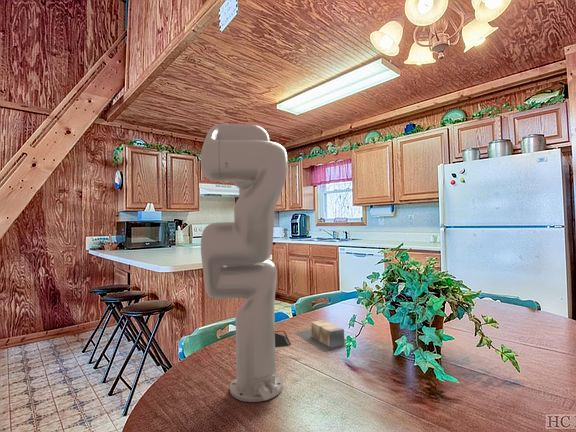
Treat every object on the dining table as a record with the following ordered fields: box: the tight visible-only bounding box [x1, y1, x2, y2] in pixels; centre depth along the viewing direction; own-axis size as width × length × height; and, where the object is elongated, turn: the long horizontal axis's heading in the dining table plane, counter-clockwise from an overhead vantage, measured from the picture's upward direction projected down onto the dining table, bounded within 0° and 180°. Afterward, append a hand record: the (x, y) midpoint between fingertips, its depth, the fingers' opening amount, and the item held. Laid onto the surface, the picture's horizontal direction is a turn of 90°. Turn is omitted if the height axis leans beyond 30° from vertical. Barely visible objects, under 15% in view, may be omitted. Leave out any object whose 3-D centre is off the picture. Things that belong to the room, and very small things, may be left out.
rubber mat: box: [294, 329, 347, 353], centre depth 108 cm, size 20×12×1 cm, turn 27°
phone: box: [275, 330, 292, 348], centre depth 109 cm, size 8×1×15 cm
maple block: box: [310, 319, 345, 348], centre depth 106 cm, size 5×5×12 cm
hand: (251, 259), depth 107 cm, fingers closed
